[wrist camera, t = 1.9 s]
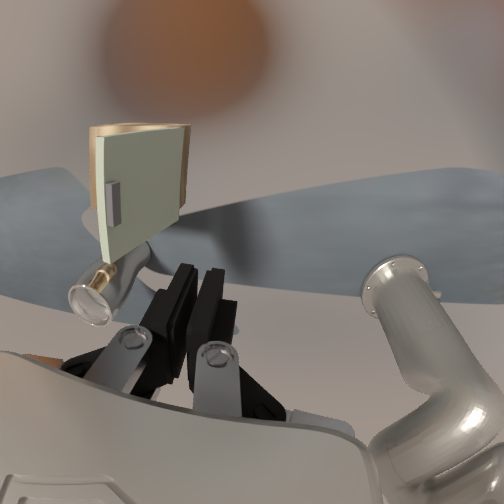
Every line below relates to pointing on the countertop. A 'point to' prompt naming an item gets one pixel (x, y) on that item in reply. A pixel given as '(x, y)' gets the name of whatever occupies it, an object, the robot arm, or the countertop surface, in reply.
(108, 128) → the light wooden box
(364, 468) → the robot arm
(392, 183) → the countertop surface
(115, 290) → the beer glass
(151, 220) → the box lid
